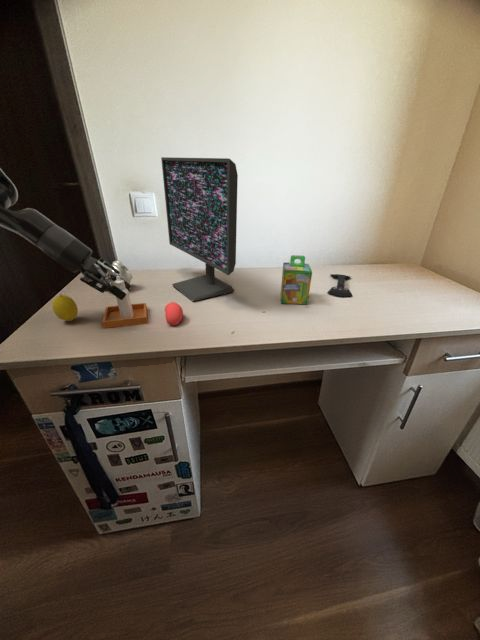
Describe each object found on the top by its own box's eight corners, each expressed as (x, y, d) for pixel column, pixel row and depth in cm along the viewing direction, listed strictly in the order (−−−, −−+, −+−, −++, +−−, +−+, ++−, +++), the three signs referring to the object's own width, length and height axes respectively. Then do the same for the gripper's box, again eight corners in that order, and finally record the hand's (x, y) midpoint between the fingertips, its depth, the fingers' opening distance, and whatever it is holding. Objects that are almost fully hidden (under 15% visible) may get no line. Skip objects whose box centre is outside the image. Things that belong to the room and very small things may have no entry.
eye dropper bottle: (139, 312, 84) (130, 273, 78) (129, 321, 80) (119, 280, 73) (125, 311, 85) (116, 272, 78) (115, 320, 80) (104, 279, 74)
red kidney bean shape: (188, 318, 87) (179, 298, 85) (184, 321, 78) (174, 299, 77) (173, 324, 87) (163, 305, 85) (167, 328, 78) (157, 307, 76)
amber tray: (104, 328, 77) (102, 322, 76) (107, 312, 85) (105, 306, 84) (147, 323, 80) (146, 317, 79) (147, 308, 88) (145, 302, 87)
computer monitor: (159, 276, 113) (139, 156, 91) (196, 270, 122) (185, 158, 100) (212, 317, 85) (201, 156, 63) (255, 305, 93) (259, 160, 71)
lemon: (71, 326, 77) (61, 299, 73) (54, 324, 78) (42, 297, 73) (85, 318, 82) (76, 291, 77) (68, 315, 82) (59, 289, 78)
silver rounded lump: (136, 292, 99) (129, 263, 93) (106, 295, 95) (97, 266, 90) (133, 283, 106) (127, 256, 100) (106, 286, 102) (98, 259, 97)
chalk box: (280, 304, 95) (284, 259, 87) (280, 293, 103) (283, 252, 94) (308, 305, 95) (314, 261, 87) (305, 294, 102) (310, 253, 94)
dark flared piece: (351, 277, 121) (352, 269, 120) (352, 298, 101) (354, 289, 99) (329, 274, 123) (331, 266, 121) (326, 295, 103) (328, 286, 101)
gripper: (61, 244, 63) (129, 293, 72) (84, 232, 75) (140, 275, 83) (44, 268, 65) (112, 313, 74) (69, 252, 77) (125, 292, 86)
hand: (126, 292), depth 79 cm, fingers closed on eye dropper bottle, 5 cm apart
